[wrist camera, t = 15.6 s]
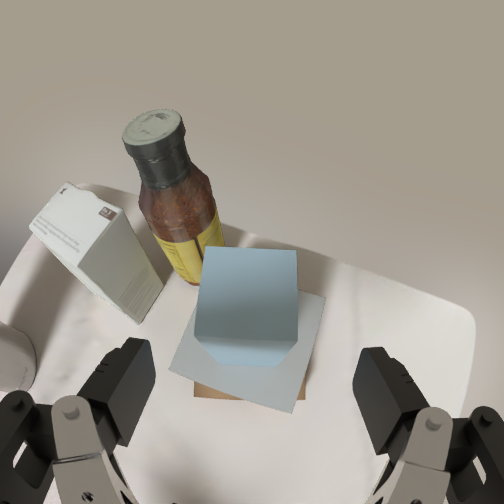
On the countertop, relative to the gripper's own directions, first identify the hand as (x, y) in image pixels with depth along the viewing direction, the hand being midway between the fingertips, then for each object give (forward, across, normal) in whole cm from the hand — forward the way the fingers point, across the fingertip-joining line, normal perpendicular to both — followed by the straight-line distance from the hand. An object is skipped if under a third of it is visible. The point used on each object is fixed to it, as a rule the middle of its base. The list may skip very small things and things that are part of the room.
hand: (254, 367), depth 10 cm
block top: (+13, 0, +8) cm, 16 cm away
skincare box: (+20, +15, +7) cm, 26 cm away
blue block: (+10, 0, +6) cm, 12 cm away
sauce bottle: (+23, +6, +4) cm, 24 cm away
